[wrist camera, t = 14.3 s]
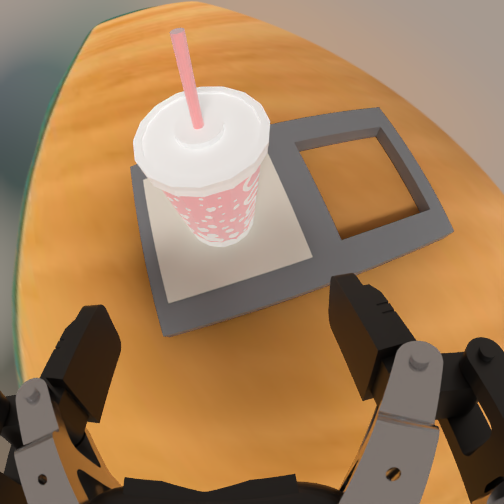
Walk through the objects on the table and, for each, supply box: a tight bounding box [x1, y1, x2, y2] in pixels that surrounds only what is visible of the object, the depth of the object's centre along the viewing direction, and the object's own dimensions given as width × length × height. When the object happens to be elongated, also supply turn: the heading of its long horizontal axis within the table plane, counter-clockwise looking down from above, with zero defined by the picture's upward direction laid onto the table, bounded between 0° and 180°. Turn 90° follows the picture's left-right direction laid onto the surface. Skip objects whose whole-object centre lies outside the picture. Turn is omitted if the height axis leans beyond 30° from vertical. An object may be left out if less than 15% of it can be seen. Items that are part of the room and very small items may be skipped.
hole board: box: [130, 107, 454, 337], centre depth 21 cm, size 24×14×2 cm, turn 108°
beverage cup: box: [133, 28, 270, 247], centre depth 13 cm, size 6×6×14 cm
